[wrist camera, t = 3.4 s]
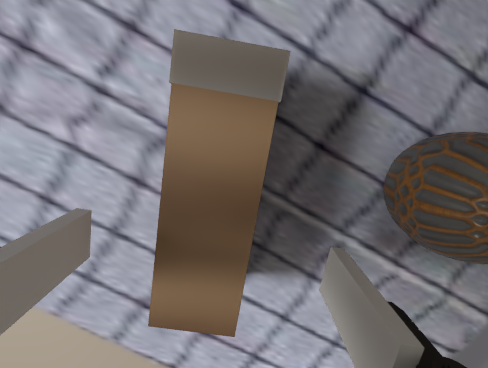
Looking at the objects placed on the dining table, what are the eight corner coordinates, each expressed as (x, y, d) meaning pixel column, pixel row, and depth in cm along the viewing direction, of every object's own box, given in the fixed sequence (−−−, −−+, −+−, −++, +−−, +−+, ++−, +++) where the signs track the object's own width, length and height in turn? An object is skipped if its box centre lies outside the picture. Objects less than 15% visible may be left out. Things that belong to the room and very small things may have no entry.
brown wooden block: (237, 273, 20) (236, 337, 14) (174, 264, 19) (146, 325, 14) (272, 75, 16) (290, 51, 11) (197, 62, 16) (174, 29, 10)
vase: (461, 223, 19) (641, 306, 11) (366, 231, 19) (468, 320, 11) (472, 125, 17) (696, 130, 9) (368, 134, 17) (492, 147, 9)
